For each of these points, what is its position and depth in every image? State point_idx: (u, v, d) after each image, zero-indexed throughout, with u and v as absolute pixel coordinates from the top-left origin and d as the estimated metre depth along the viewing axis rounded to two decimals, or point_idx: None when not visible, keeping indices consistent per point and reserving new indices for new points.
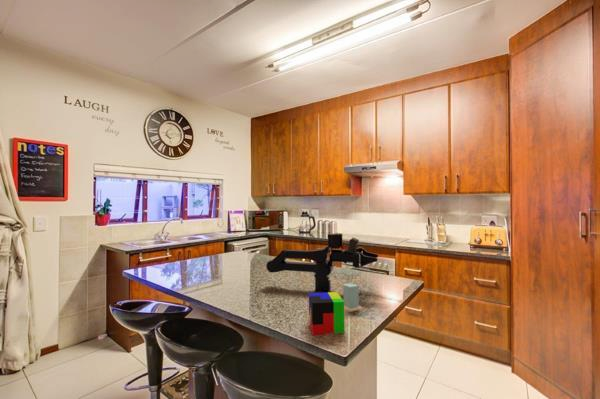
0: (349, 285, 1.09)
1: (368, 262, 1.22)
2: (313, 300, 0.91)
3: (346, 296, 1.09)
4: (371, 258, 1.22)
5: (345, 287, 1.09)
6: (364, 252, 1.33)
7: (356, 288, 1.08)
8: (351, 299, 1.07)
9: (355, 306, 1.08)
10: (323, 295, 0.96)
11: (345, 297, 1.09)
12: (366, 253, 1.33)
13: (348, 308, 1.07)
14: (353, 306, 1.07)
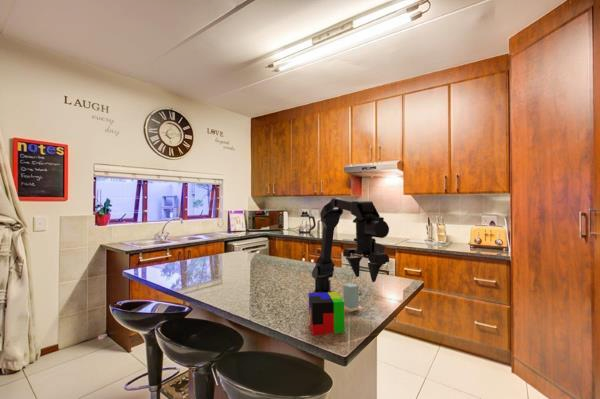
0: (349, 285, 1.09)
1: (373, 272, 0.97)
2: (313, 300, 0.91)
3: (346, 296, 1.09)
4: (376, 275, 0.98)
5: (345, 287, 1.09)
6: (358, 259, 1.08)
7: (356, 288, 1.08)
8: (351, 299, 1.07)
9: (355, 306, 1.08)
10: (323, 295, 0.96)
11: (345, 297, 1.09)
12: (358, 262, 1.07)
13: (348, 308, 1.07)
14: (353, 306, 1.07)
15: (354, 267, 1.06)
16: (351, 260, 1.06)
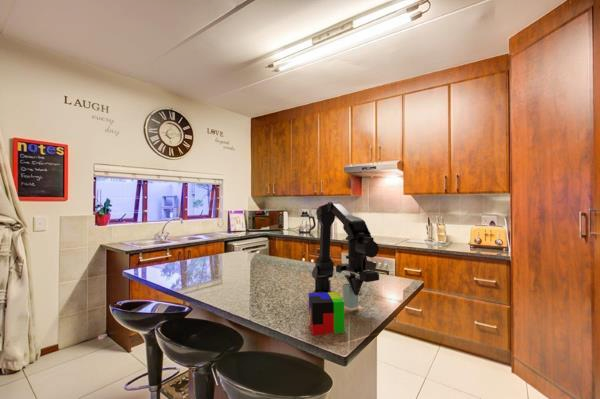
0: (348, 284, 1.09)
1: (356, 286, 1.05)
2: (313, 300, 0.91)
3: (346, 296, 1.09)
4: (359, 289, 1.06)
5: (344, 287, 1.10)
6: None
7: None
8: (351, 298, 1.07)
9: (355, 305, 1.08)
10: (323, 295, 0.96)
11: (345, 297, 1.09)
12: None
13: (348, 308, 1.08)
14: (353, 305, 1.07)
15: None
16: (350, 278, 1.06)
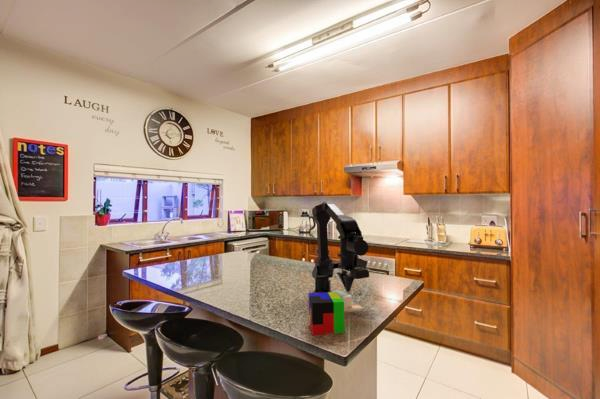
0: None
1: (347, 283, 1.09)
2: (313, 300, 0.91)
3: None
4: (350, 285, 1.10)
5: None
6: None
7: (338, 290, 1.19)
8: None
9: (346, 295, 1.13)
10: (323, 295, 0.96)
11: None
12: None
13: (342, 299, 1.11)
14: (344, 295, 1.12)
15: None
16: (342, 275, 1.11)
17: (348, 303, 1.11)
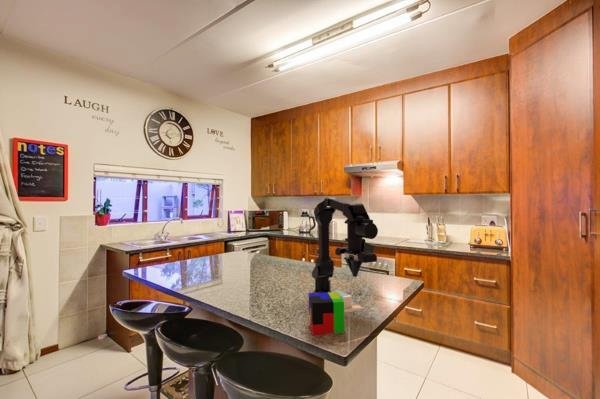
0: None
1: (354, 268, 1.08)
2: (313, 300, 0.91)
3: None
4: (357, 270, 1.09)
5: None
6: None
7: (338, 290, 1.19)
8: None
9: (346, 295, 1.13)
10: (323, 295, 0.96)
11: None
12: None
13: (342, 299, 1.11)
14: (344, 295, 1.12)
15: (351, 267, 1.09)
16: (349, 260, 1.09)
17: (348, 303, 1.11)
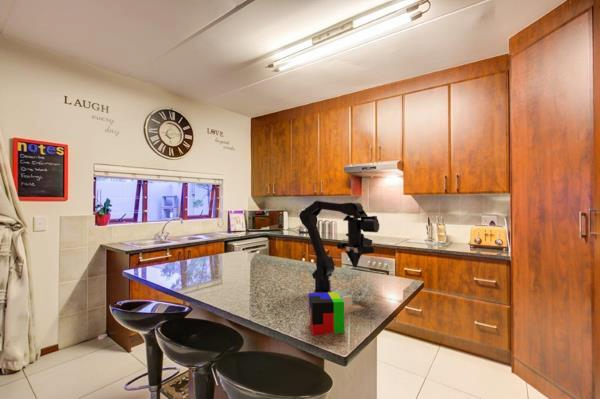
0: None
1: (354, 259, 1.22)
2: (313, 300, 0.91)
3: None
4: (357, 262, 1.23)
5: None
6: None
7: (338, 290, 1.19)
8: None
9: (346, 295, 1.13)
10: (323, 295, 0.96)
11: None
12: None
13: (342, 299, 1.11)
14: (344, 295, 1.12)
15: None
16: (349, 253, 1.23)
17: (348, 303, 1.11)
